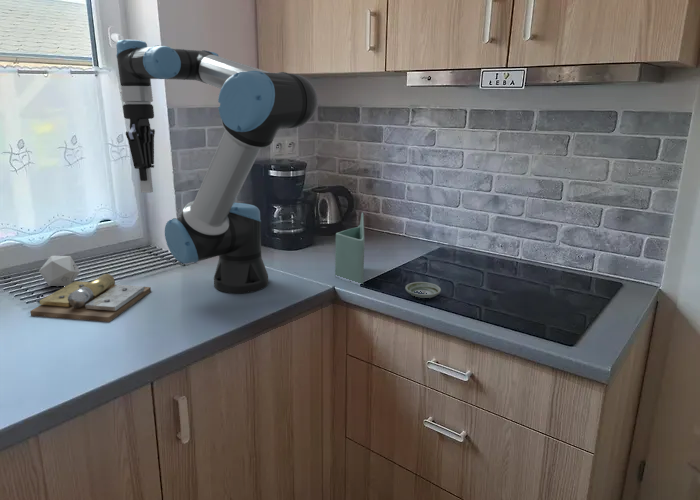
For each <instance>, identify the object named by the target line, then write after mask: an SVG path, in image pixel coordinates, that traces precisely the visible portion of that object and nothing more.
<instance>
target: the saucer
mask: <svg viewBox="0 0 700 500" xmlns="http://www.w3.org/2000/svg"><path fill="white" fill-rule="evenodd" d="M404 287H405V288H404V289H405V291H406V293H408V294H409V295H410V294H411V295H410V296H413V297H414V296H415V297H414V298H416V297H420V298H429V299H431V298H434V297H436V296H438V295H439V294H440V293H441V292H442V289H441V287H440V286H439V285H438V284H435V283H431V282H426V281H415V282H411V283H408V284H406V285H405V286H404ZM414 291H415V292H416V291H418V292H420V291H421V292H422V293H424V294H418V293H414ZM421 292H420V293H421ZM426 293H427V294H426ZM420 298H419V299H420Z"/></svg>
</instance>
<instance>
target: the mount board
mask: <svg viewBox="0 0 700 500" xmlns="http://www.w3.org/2000/svg"><path fill="white" fill-rule="evenodd" d="M116 285H117V284H115V285H114V286H116ZM114 286H113V287H114ZM113 287H112V288H113ZM143 287H144V291H143V292H141V293H140V294H138V295H137V296H136V297H134V298H133V299H131V300H130V301H129V302H127V303H126V304H124V305H123V306H122V307H120V308H119V309H117V310H116V311H109V310H97V309H86V307H85V305H86V304H87V303H86V304H85V305H83V306H82V307H80V308H75V307H73V306H69V307H65V306H52V305H40V304H39V306H37V307H35V308H33V309H31V310H30V316H34V317H43V318H54V319H55V318H56V319H67V320H68V319H69V320H81V321H95V322H107V323H110V322H111V321H113V320H114V319H115V318H117V317H119V316H120V315H121V314H122V313H123V312H125V311H126V310H128V309H129V308H130V307H132V306H133V305H134V304H135V303H137V302H138V301H140V300H142V299H143V298H144V297H146V296H147V295H148V294H150V293H151V291H152V288H151V287H150V286H143ZM110 289H111V288H110ZM107 291H108V290H107ZM104 293H105V292H104ZM102 294H103V293H102ZM102 294H101V295H102ZM99 296H100V295H99ZM96 298H97V297H96ZM94 299H95V298H94ZM94 299H93V300H94ZM91 301H92V300H91ZM88 303H89V302H88Z"/></svg>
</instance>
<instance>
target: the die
mask: <svg viewBox="0 0 700 500" xmlns="http://www.w3.org/2000/svg"><path fill="white" fill-rule="evenodd" d="M38 272H39V273H40V275H41V276H42V278H43V279H44V282H46V284H47V285H48V287H49V286H67V285H69V284H71V283H73V282H75V281H76V278H77V277H78V276H79V275H80V273H81V270H80V269H79V267H78V266H77V264H76V261H74V259H73V258H72V256H71V255H50V257H48V259H47V260H46V261H45V263H44V264H42V266H41V268H40V269H39V270H38Z"/></svg>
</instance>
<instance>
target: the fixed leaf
mask: <svg viewBox="0 0 700 500" xmlns="http://www.w3.org/2000/svg"><path fill="white" fill-rule="evenodd" d="M115 285H116V286H114V287H113V288H111V289H109V290H108V291H106V292H105V293H103V294H102V295H100V296H98V297H97V298H95V299H94V300H92V299H93V292H92V290H91V289H90V288H88V287H81V288H79V289H78V290H76V291H74V292H72V293H71V294H69V296H68V301H69V303H70V305H71V306H73V307H75V308H80V307H82V306H83V305H85V304H86V303H87V304H86V305H85V307H86V309H97V310H109V311H116V310H117V309H119V308H120V307H122V306H123V305H124V304H126V303H127V302H129V301H130V300H131V299H133V298H134V297H136V296H137V295H138V294H140V293H141V292H143V291H144V287H145V286H143V285H127V284H115ZM91 300H92V301H91ZM88 302H89V303H88Z"/></svg>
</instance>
